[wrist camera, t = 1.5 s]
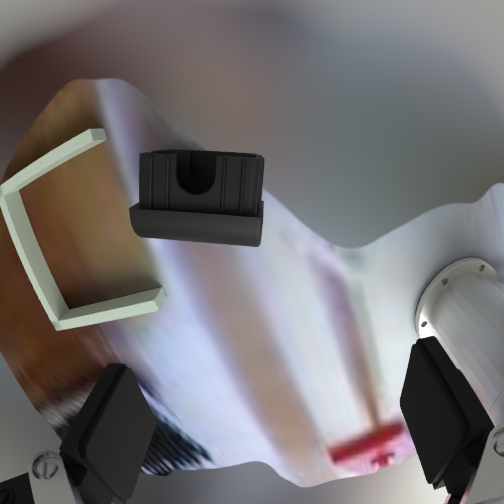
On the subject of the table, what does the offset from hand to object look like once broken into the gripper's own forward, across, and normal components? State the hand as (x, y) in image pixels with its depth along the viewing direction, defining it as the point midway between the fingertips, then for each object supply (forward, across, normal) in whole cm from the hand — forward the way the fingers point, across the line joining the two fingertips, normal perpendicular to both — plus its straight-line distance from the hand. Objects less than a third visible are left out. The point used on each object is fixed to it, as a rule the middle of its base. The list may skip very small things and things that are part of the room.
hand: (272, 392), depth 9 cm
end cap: (+21, +5, -4) cm, 22 cm away
